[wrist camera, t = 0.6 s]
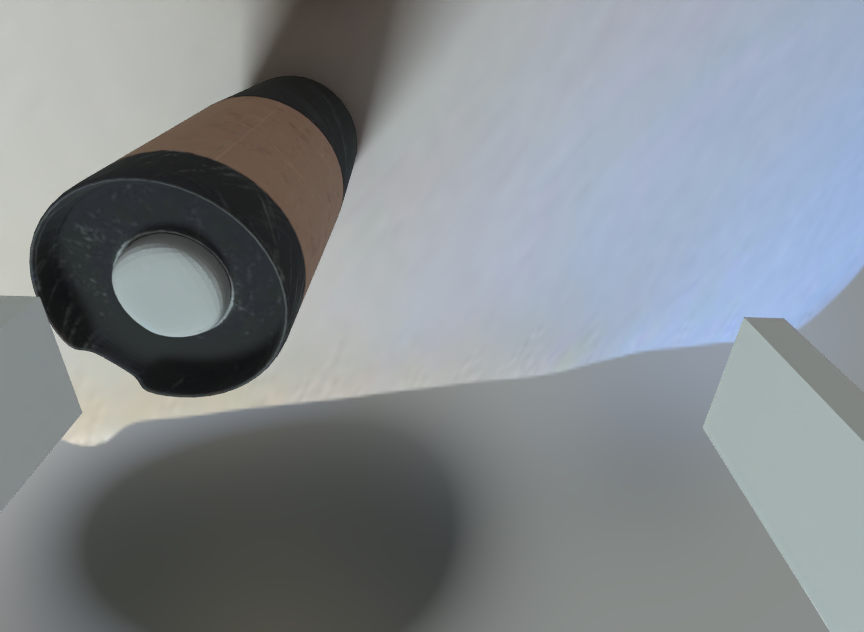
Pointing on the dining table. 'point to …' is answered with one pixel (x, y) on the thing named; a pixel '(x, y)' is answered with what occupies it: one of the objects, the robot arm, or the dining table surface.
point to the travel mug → (200, 239)
